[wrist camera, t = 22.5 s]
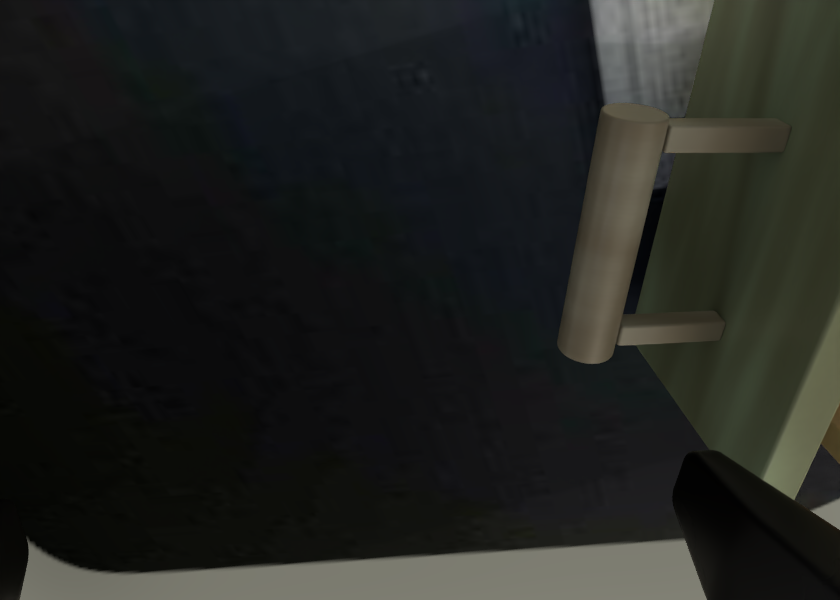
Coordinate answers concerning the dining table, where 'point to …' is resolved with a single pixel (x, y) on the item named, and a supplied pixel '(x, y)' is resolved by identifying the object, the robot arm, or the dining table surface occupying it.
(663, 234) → the drawer
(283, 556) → the dining table surface
